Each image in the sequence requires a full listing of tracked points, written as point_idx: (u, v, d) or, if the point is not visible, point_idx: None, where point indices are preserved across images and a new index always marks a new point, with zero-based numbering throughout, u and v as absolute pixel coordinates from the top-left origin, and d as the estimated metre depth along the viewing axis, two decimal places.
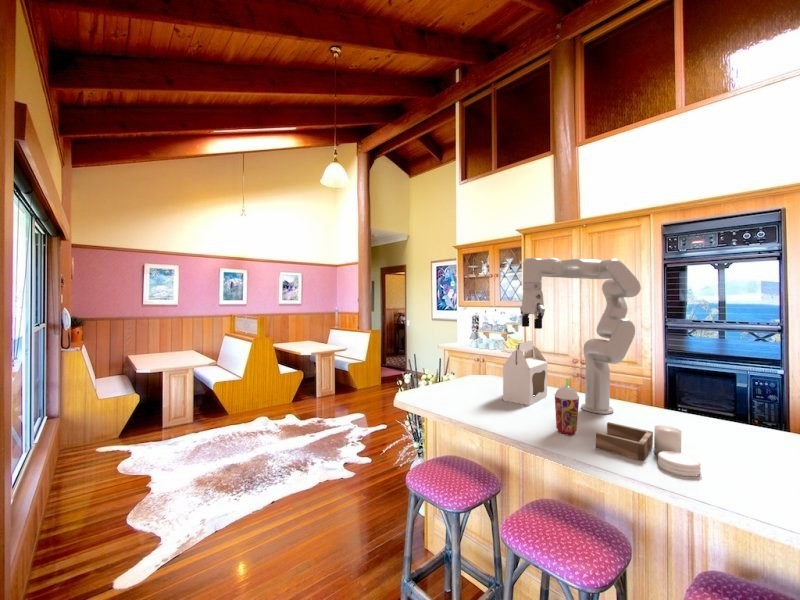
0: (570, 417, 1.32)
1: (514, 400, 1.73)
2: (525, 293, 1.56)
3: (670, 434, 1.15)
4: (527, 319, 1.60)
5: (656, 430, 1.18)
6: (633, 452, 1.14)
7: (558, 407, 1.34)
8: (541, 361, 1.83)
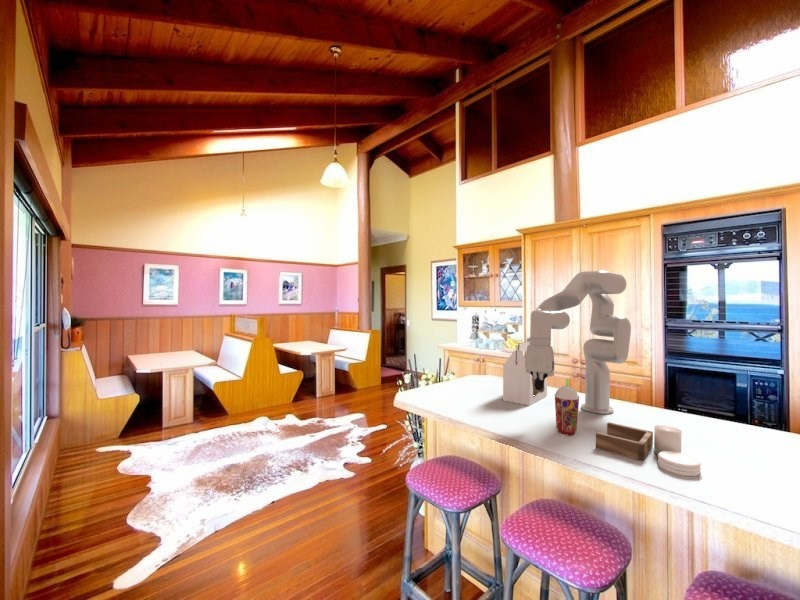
0: (570, 417, 1.32)
1: (514, 400, 1.73)
2: None
3: (670, 434, 1.15)
4: None
5: (656, 430, 1.18)
6: (633, 452, 1.14)
7: (558, 407, 1.34)
8: None
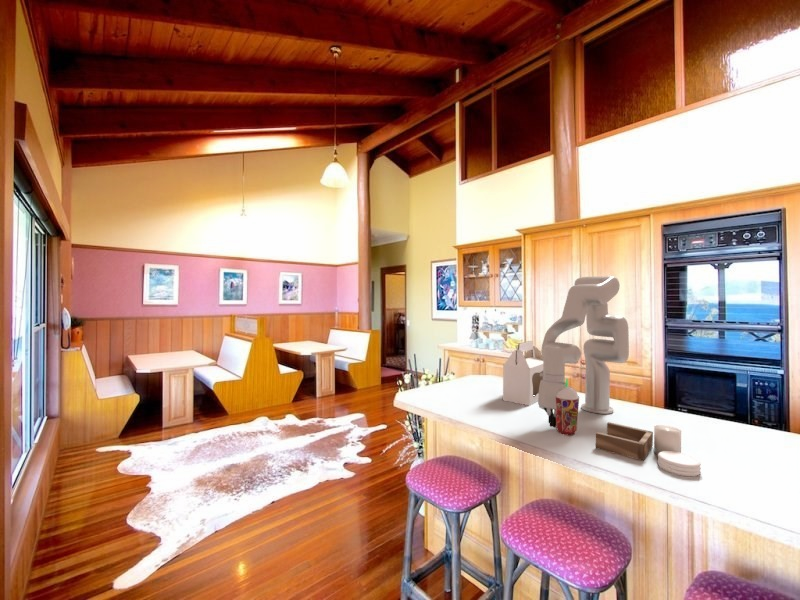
0: (570, 417, 1.32)
1: (514, 400, 1.73)
2: None
3: (670, 434, 1.15)
4: None
5: (656, 430, 1.18)
6: (633, 452, 1.14)
7: (558, 407, 1.34)
8: (541, 361, 1.83)
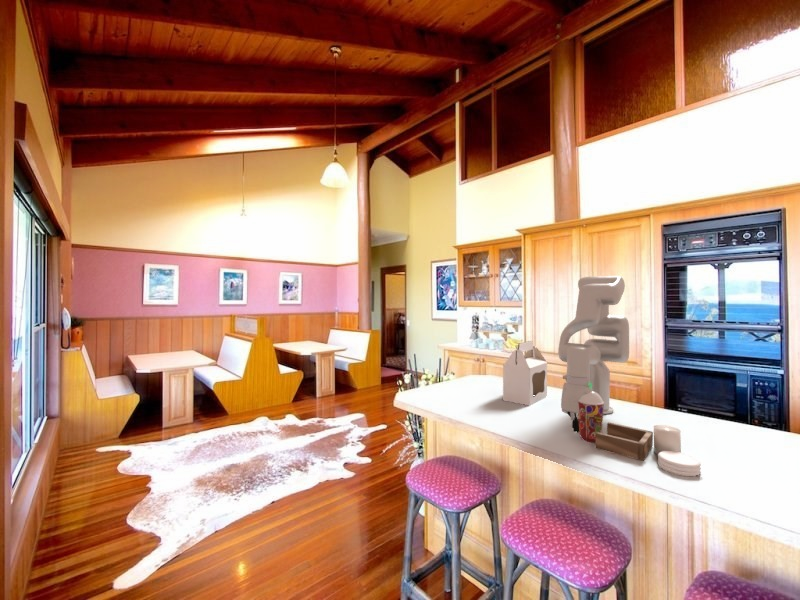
0: (595, 423, 1.26)
1: (514, 400, 1.73)
2: None
3: (670, 434, 1.15)
4: None
5: (656, 430, 1.18)
6: (633, 452, 1.14)
7: (582, 412, 1.28)
8: (541, 361, 1.83)
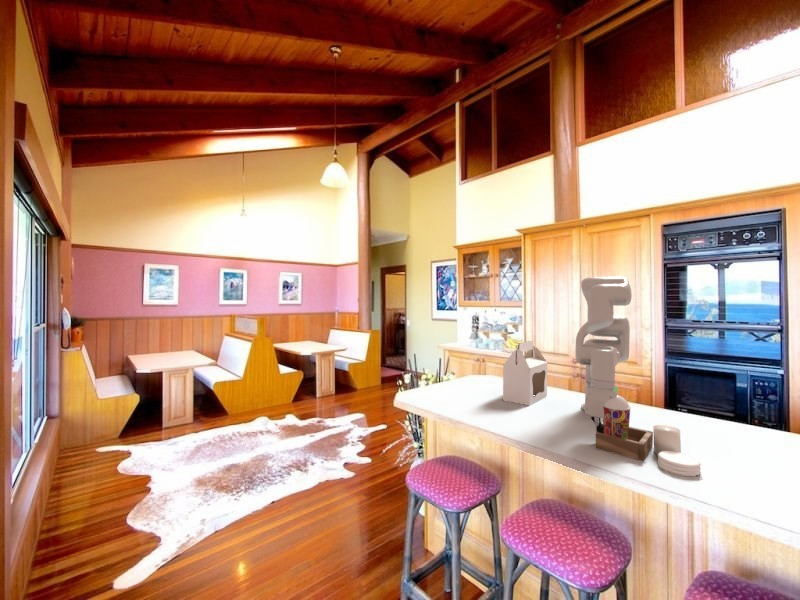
0: (621, 429, 1.20)
1: (514, 400, 1.73)
2: None
3: (671, 434, 1.15)
4: None
5: (656, 430, 1.18)
6: (633, 452, 1.14)
7: (607, 418, 1.22)
8: (541, 361, 1.83)
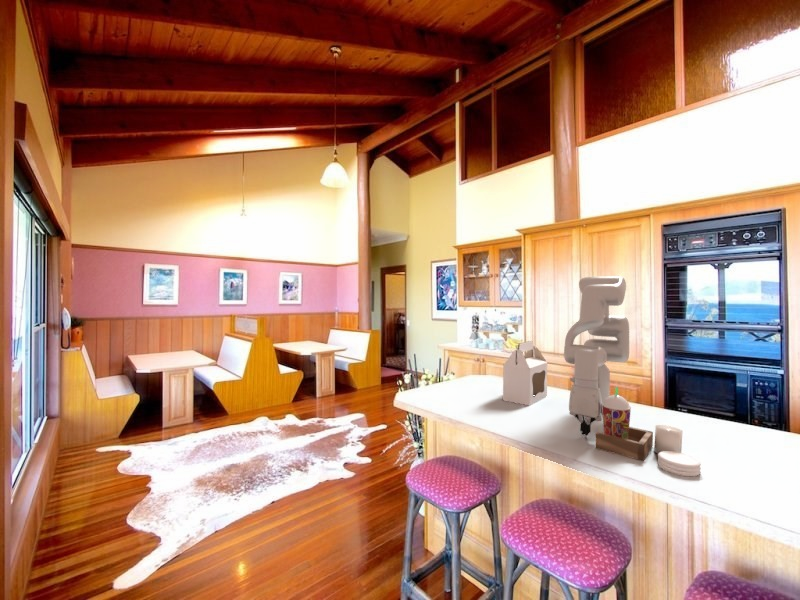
0: (621, 429, 1.20)
1: (514, 400, 1.73)
2: None
3: (674, 434, 1.14)
4: None
5: (659, 430, 1.17)
6: (633, 452, 1.14)
7: (607, 418, 1.22)
8: (541, 361, 1.83)
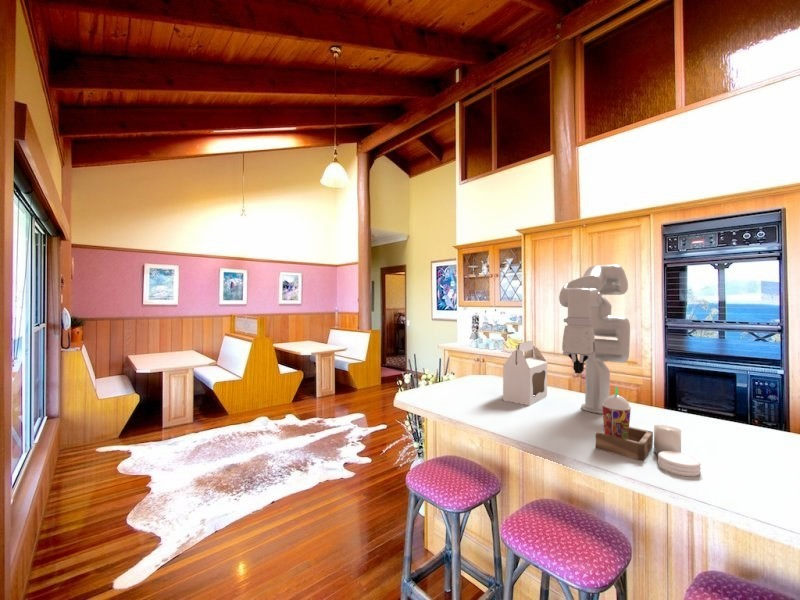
0: (621, 429, 1.20)
1: (514, 400, 1.73)
2: None
3: (673, 433, 1.15)
4: None
5: (658, 430, 1.17)
6: (633, 452, 1.14)
7: (607, 418, 1.22)
8: (541, 361, 1.83)
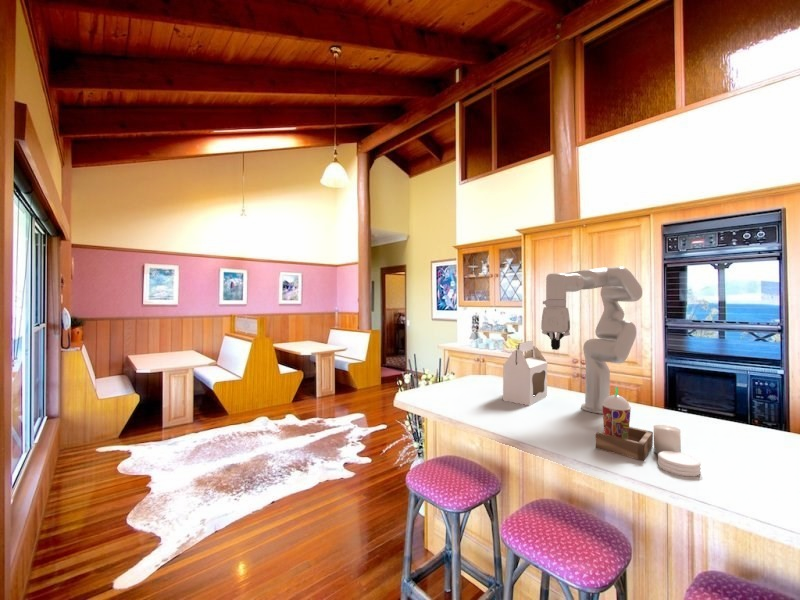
0: (621, 429, 1.20)
1: (514, 400, 1.73)
2: None
3: (675, 433, 1.15)
4: None
5: (659, 430, 1.17)
6: (633, 452, 1.14)
7: (607, 418, 1.22)
8: (541, 361, 1.83)
